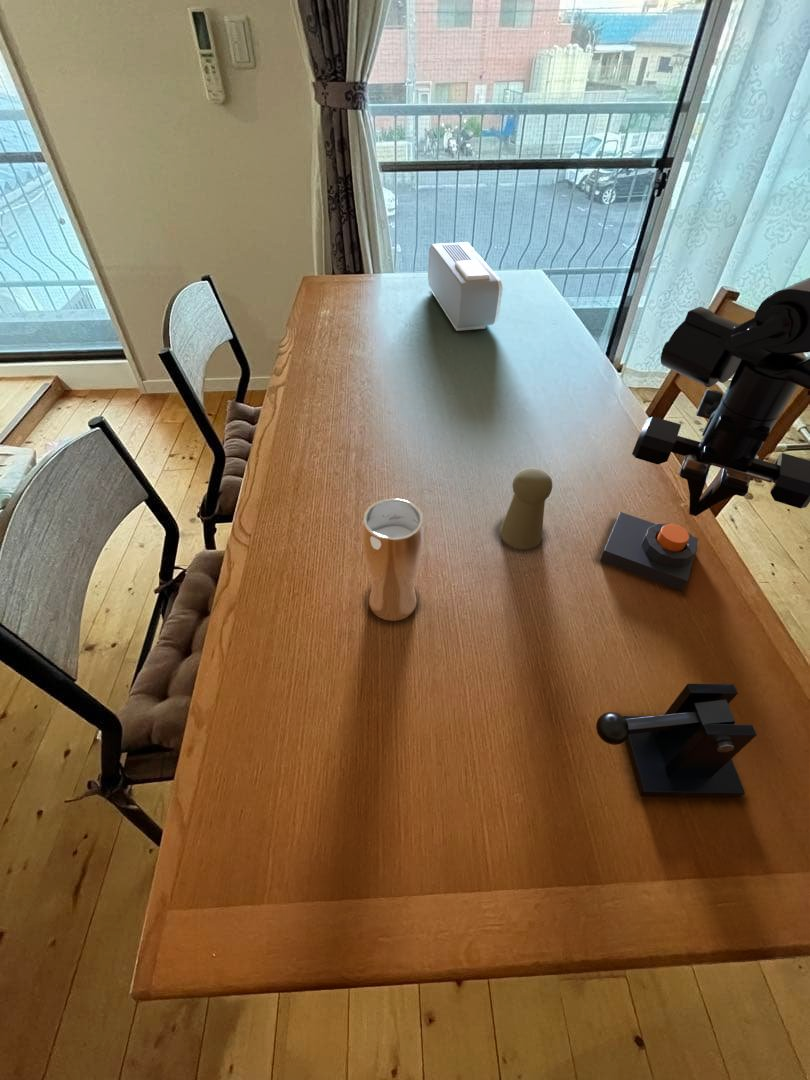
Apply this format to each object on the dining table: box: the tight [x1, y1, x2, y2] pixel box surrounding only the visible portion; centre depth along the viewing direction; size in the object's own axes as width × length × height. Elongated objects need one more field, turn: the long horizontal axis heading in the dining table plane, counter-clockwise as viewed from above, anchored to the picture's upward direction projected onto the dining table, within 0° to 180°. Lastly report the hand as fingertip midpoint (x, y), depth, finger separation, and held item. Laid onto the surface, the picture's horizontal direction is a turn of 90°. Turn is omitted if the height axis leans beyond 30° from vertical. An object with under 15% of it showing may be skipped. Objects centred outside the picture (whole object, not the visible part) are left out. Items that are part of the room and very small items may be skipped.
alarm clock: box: [427, 241, 504, 332], centre depth 129 cm, size 27×9×12 cm, turn 13°
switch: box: [595, 699, 736, 746], centre depth 52 cm, size 12×3×3 cm, turn 89°
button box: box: [599, 511, 699, 592], centre depth 77 cm, size 11×9×4 cm
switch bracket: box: [622, 682, 757, 799], centre depth 54 cm, size 10×8×11 cm
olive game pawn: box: [499, 467, 553, 550], centre depth 77 cm, size 6×6×11 cm
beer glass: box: [362, 498, 425, 622], centre depth 66 cm, size 7×7×15 cm
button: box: [657, 523, 690, 552], centre depth 74 cm, size 4×4×2 cm
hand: (692, 513), depth 70 cm, fingers closed
